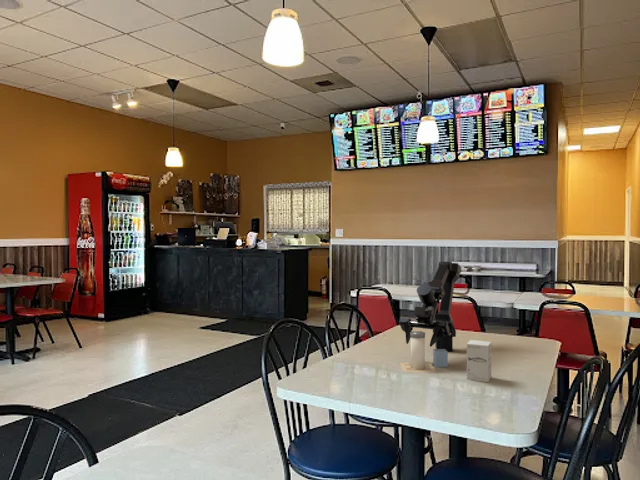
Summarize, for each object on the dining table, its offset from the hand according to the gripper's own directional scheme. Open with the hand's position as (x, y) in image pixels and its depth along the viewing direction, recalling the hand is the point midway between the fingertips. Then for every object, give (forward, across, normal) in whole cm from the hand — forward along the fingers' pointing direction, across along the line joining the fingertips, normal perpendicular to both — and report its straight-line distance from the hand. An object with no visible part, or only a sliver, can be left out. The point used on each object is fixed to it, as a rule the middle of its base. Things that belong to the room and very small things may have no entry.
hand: (418, 344), depth 183 cm
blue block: (+2, +6, +10) cm, 12 cm away
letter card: (+7, 0, +6) cm, 9 cm away
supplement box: (+8, +23, +4) cm, 25 cm away
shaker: (+6, 0, +5) cm, 8 cm away
